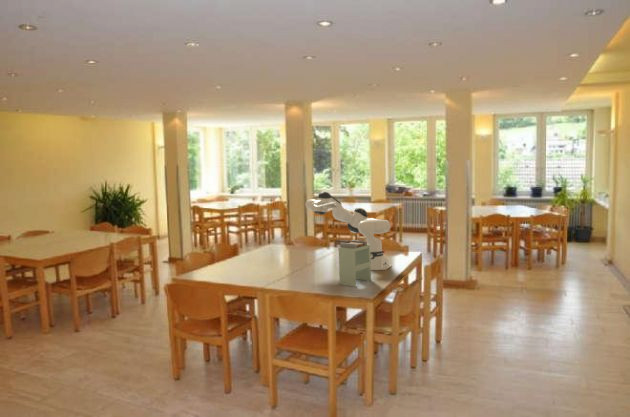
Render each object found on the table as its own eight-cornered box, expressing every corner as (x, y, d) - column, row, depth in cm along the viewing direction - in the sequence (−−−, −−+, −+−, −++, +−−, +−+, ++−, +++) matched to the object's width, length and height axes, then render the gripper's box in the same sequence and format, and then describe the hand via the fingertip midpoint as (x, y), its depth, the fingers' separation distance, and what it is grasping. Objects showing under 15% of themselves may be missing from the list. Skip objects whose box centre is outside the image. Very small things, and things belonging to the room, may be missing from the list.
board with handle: (341, 243, 372) (340, 239, 372) (364, 245, 359) (363, 241, 359) (332, 245, 365) (332, 241, 365) (355, 247, 351) (355, 243, 351)
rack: (356, 278, 374) (355, 235, 371) (371, 280, 365) (369, 237, 362) (339, 284, 359) (338, 239, 356) (354, 286, 350) (353, 241, 347)
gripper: (330, 207, 405) (342, 209, 394) (310, 211, 392) (322, 213, 381) (330, 199, 404) (341, 201, 393) (310, 203, 391) (321, 205, 380)
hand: (332, 207), depth 387 cm, fingers open, 8 cm apart
